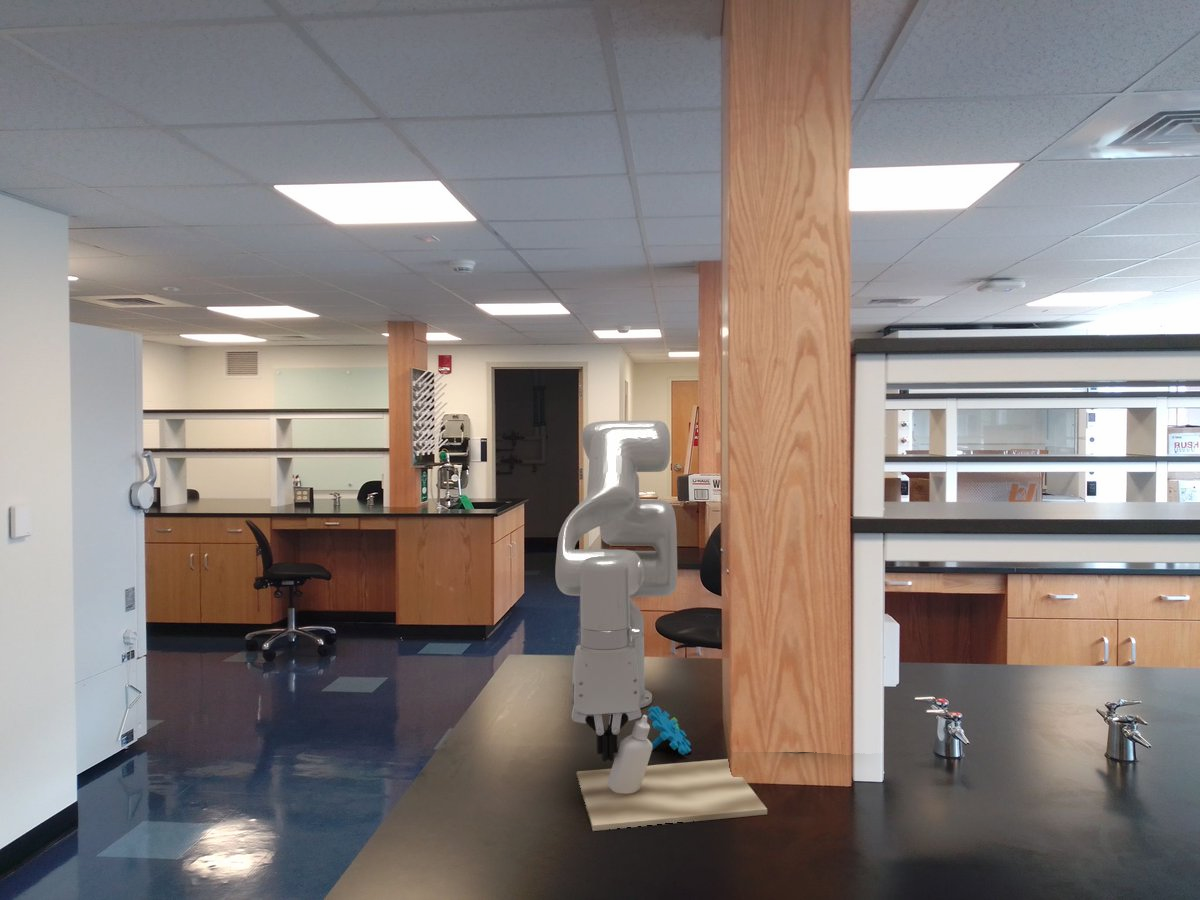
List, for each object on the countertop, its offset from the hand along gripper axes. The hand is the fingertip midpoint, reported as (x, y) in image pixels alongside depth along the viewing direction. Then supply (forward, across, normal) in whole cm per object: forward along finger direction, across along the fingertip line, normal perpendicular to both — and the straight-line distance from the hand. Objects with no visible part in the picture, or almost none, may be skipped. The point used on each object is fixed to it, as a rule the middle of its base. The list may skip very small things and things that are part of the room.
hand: (607, 757), depth 120 cm
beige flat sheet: (+7, -10, -1) cm, 12 cm away
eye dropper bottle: (+6, -3, -1) cm, 6 cm away
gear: (+7, -14, -18) cm, 24 cm away
